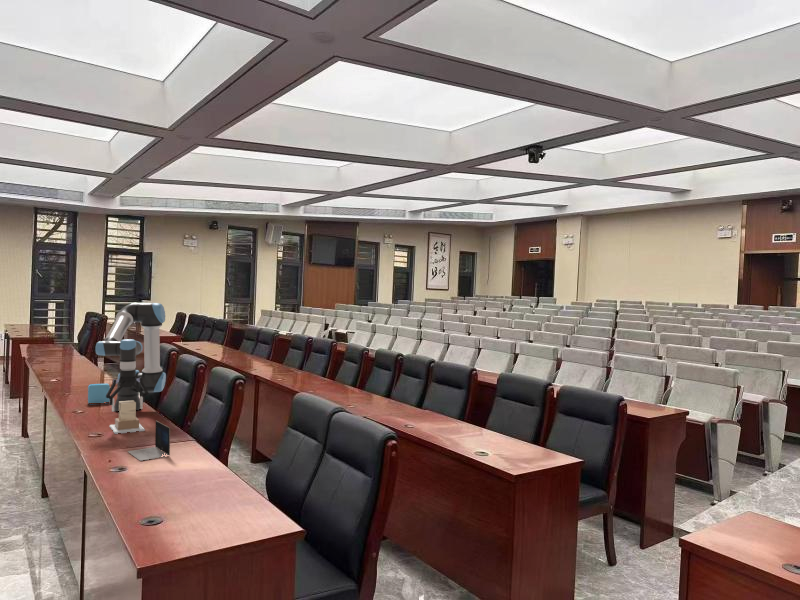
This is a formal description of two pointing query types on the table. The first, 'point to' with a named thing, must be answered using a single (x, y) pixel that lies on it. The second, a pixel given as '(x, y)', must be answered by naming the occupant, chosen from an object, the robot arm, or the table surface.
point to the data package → (98, 393)
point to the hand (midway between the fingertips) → (127, 410)
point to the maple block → (127, 410)
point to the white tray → (126, 426)
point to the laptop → (160, 444)
